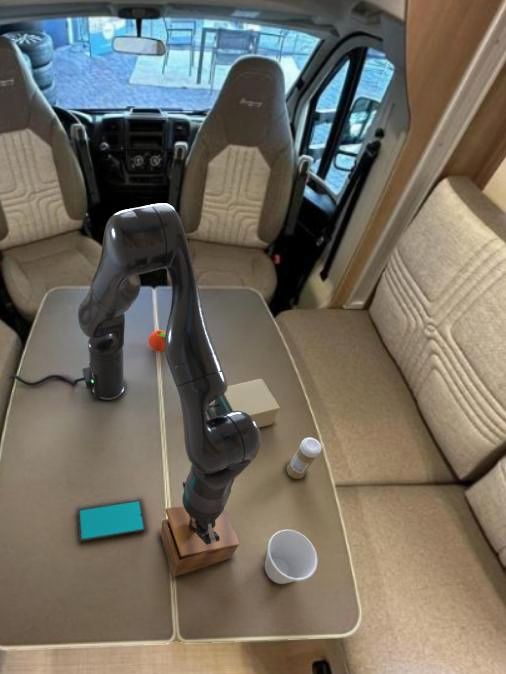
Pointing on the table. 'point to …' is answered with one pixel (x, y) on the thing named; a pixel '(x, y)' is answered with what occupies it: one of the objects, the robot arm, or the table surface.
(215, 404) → the drawer
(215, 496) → the robot arm
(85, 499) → the table surface
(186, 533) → the chest lid
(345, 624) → the table surface
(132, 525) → the smartphone
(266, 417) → the cabinet
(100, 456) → the table surface
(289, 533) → the cup
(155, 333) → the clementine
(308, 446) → the sprinkles bottle
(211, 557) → the chest
